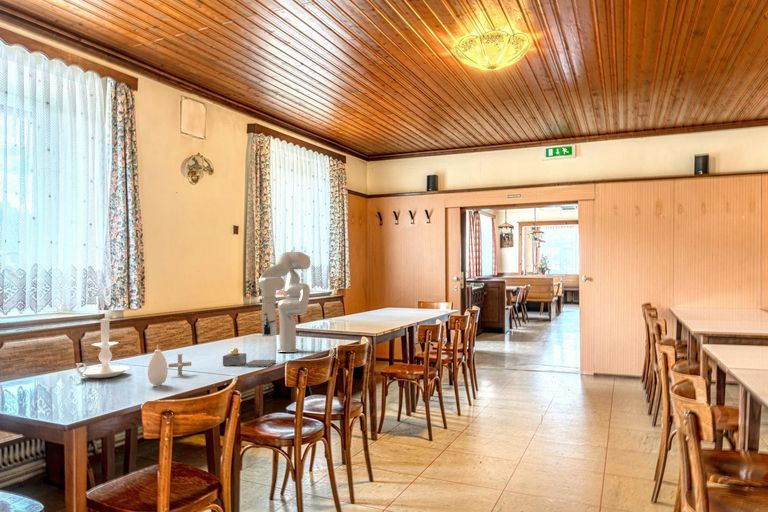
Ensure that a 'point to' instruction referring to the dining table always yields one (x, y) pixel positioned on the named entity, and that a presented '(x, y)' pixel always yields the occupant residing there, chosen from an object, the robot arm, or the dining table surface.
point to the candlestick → (103, 357)
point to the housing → (272, 329)
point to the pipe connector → (179, 364)
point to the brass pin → (234, 351)
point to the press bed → (260, 363)
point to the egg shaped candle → (157, 368)
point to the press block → (234, 359)
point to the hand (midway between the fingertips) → (269, 333)
